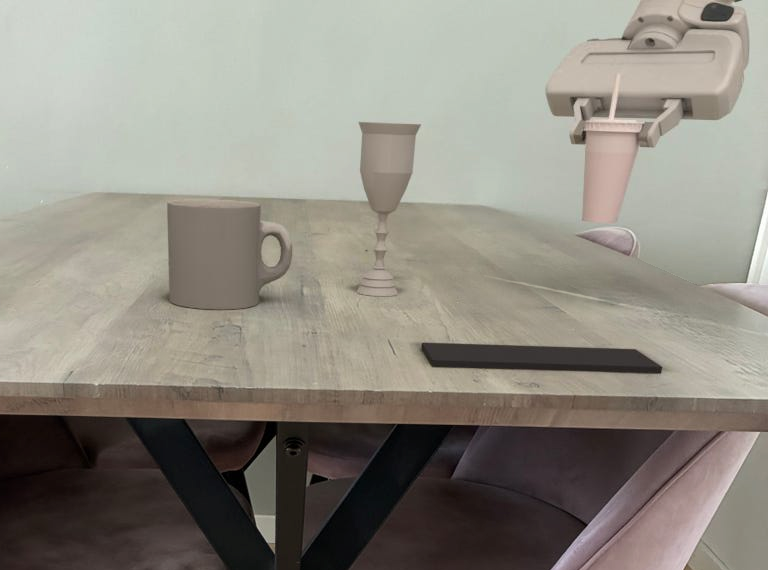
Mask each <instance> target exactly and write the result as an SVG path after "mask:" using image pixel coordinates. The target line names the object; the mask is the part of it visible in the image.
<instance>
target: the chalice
mask: <svg viewBox="0 0 768 570" xmlns="http://www.w3.org/2000/svg"><path fill="white" fill-rule="evenodd" d="M358 125H359V128H360V131H361V134H362V135H361V145H360V147H361V149H360V163H359V172H360V178H361V182H362V187H363V190H364V193H365V196H366V198H367V201H368V204H369V207H370V209H371V211H373V212H375V213H376V214H377V216H378V223H377V227H376V230H375V231H374V233H375V235H376V244H375V247H373V248H372V250H373V251H374V254H375V255H374V256H375V262H374V266H372V269H370V270H367V271H366V272H365V273H364V274H363V275H362V277H363V278H362V279H361V281H360V283H359V284H360V285H359V286H358V288H357V290H356V291H355V292H356V293H357V294H360V295H364V296H371V297H393V296H397V295H399V292H398V290H397V288H396V282H395V280H394V277H395V276H393V274H392V273H391V272H389V271H387V270H386V267H385V262H384V259H385V255H386V252H388V250H389V249H388V248H387V246H386V238H387V236H388V234H389V231H388V226H387V224H388V223H387V222H388V221H387V220H388V216H389V214H391V213H394V212H396V210H397V209H398V206H399V204H400V203H401V201H402V199H403V197H404V195H405V193H406V191H407V188H408V185H409V183H410V180H411V179H412V176H413V171H414V160H415V151H416V150H415V149H416V137H417V134H418V132H419V130H420V128H421V126H422V123H421V124H420V123H403V122H402V123H401V122H378V121H377V122H376V121H375V122H374V121H372V122H371V121H358Z"/></svg>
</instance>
